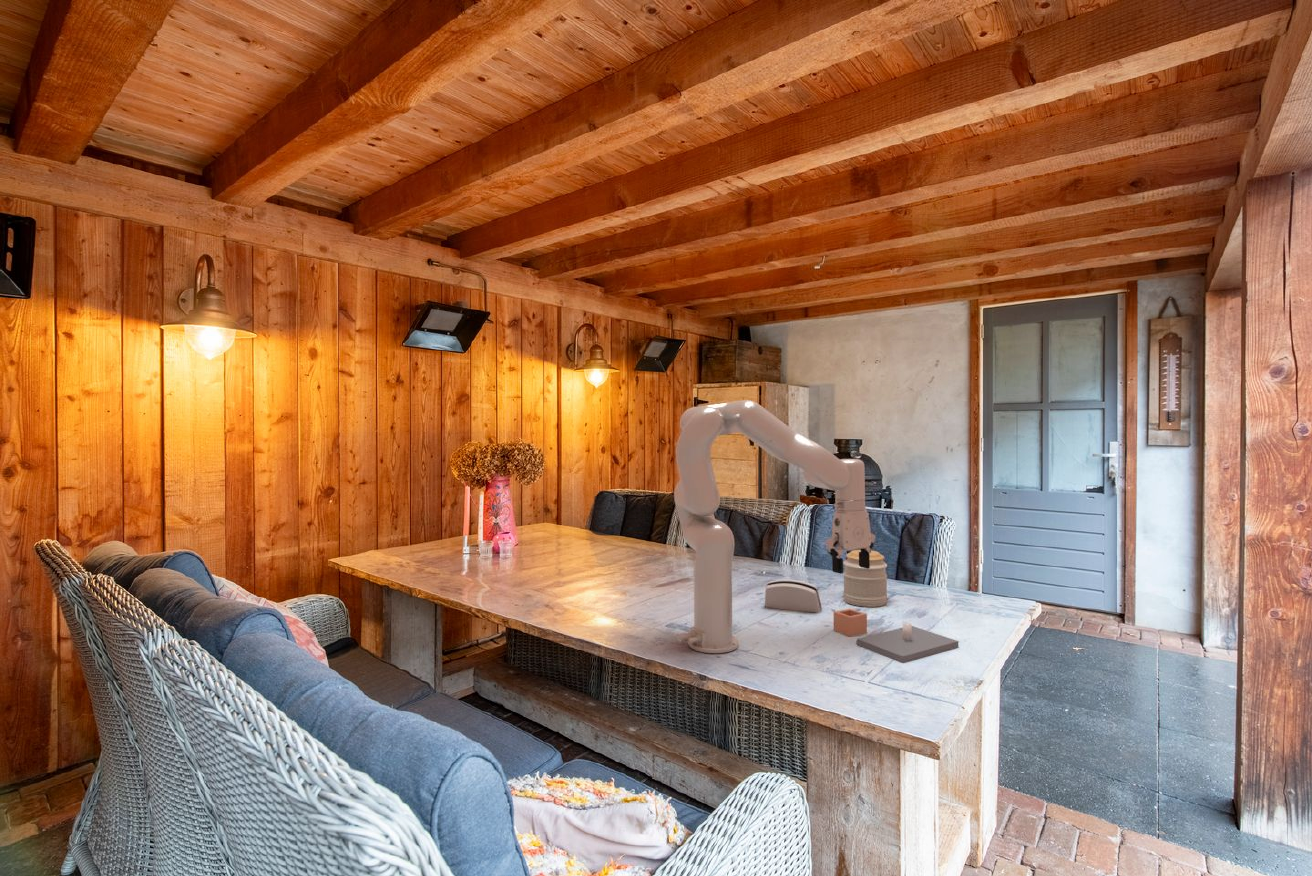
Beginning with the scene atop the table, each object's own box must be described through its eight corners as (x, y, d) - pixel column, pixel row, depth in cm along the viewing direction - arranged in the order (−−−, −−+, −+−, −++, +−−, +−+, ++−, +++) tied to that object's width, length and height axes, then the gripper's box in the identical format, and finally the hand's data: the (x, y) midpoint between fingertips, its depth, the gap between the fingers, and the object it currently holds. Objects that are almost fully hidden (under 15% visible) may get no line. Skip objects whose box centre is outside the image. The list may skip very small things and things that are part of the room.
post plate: (902, 662, 148) (902, 639, 148) (856, 644, 160) (856, 622, 160) (958, 647, 158) (958, 625, 158) (911, 631, 170) (911, 610, 170)
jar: (873, 595, 206) (873, 540, 205) (895, 606, 193) (895, 548, 192) (835, 597, 203) (835, 542, 203) (855, 609, 191) (855, 550, 190)
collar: (850, 636, 166) (850, 617, 166) (833, 630, 171) (833, 611, 171) (866, 633, 169) (866, 614, 169) (849, 626, 174) (849, 608, 174)
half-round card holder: (822, 608, 192) (821, 579, 188) (820, 617, 188) (818, 588, 184) (767, 602, 198) (765, 574, 195) (764, 611, 194) (761, 583, 191)
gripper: (836, 510, 162) (837, 577, 162) (884, 504, 170) (885, 568, 171) (815, 507, 168) (816, 571, 169) (862, 501, 177) (863, 563, 177)
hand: (851, 570), depth 170 cm, fingers open, 9 cm apart
